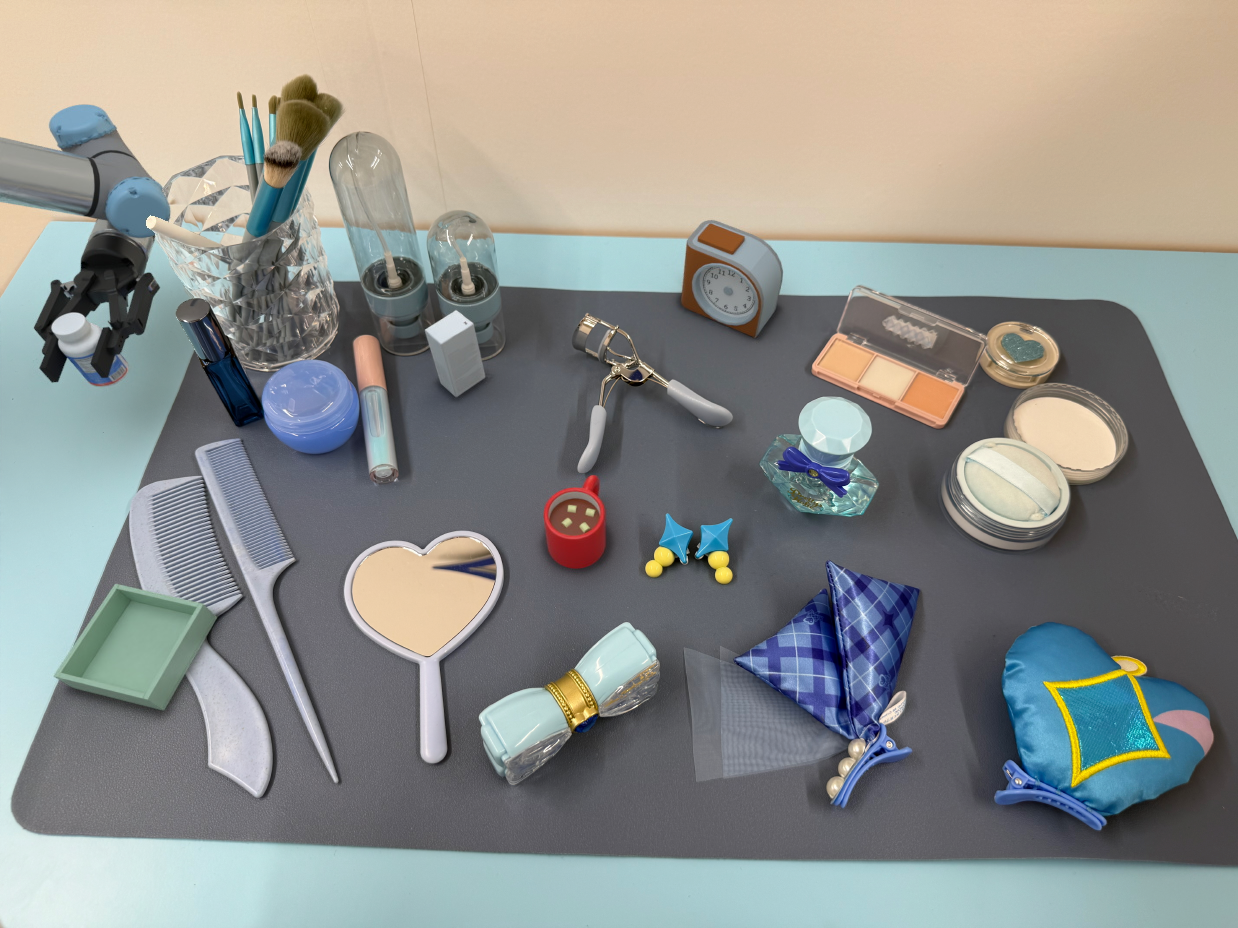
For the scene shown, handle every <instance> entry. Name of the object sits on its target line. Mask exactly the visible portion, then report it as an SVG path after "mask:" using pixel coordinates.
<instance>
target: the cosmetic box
mask: <svg viewBox="0 0 1238 928" xmlns="http://www.w3.org/2000/svg"><path fill="white" fill-rule="evenodd" d="M475 328H476V327H475V324H474V322H472V321H471V320H470V319H468V318H467V317H466V316H465V315H463V314H462V313H461V312H459V311H458V310H457V309H455V310H453V311H452V312H450V313H449V314H448V315H446V316H444V317H443V318H442V319H440V320H438V321H436V322H435V323H433V324H432V325H430V326H428V327H427V328H426V329H424V332H425V333H424V334H425V337H426V340H427V342H428V347H429V350H430V351H431V356H432V359H433V363H434V366H435V369H436V372H437V373H436V374H437V376H438V379H439V382H440V385H442V386H443V387H444V388H445V389H446V390H447V391H448V392H449V393H451V395H453V396H454V397H455V398H458V397H459V396H461V395H462V394H464V393H465V392H467V391H468V390H469V389H471V388H472V387H474V386H475V385H477V384H478V383H480V382H481V381H483V380H484V379H485V378H486V373H485V368H484V364H483V359H482V355H481V350H480V346H479V343H478V338H477V333H476V329H475Z"/></svg>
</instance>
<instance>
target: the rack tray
mask: <svg viewBox="0 0 1238 928" xmlns="http://www.w3.org/2000/svg"><path fill="white" fill-rule="evenodd" d="M217 619H218V616H216V615H215V614H214V613H213V611H212V610H210V609H209V607H208V606H207V605H205V604H204V603H201V602H197V601H193V600H189V599H184V598H180V597H177V596H176V597H175V596H171V595H166V594H162V593H158V592H154V591H151V590H145V589H141V588H138V587H131V586H127V585H123V584H118V583H114V585H113V586H112V588H111V589H110V591H109V592H108V594H107V595H106V597H105V598H104V599H103V601H102V602H101V604H100V605H99V607H98V609H97V610H96V611H95V613H94V615H93V616H92V617H91V619H90V621H89V622H88V623H87V625H86V627H85V628H84V630H83V631H82V632H81V634H80V636H79V637H78V639H77V640H76V641H75V643H74V644H73V646H72V647H71V649H70V650H69V652H68V653H67V655H66V657H65V658H64V659H63V660H62V662H61V664H59V667H58V668H57V670H56V671H55V673H54V674H53V677H54V678H55V679H57V680H59V681H60V682H62V683H64V684H66V685H67V686H69V687H71V688H72V689H75V690H80V691H83V692H88V693H92V694H95V695H100V696H104V697H108V698H112V699H116V700H120V701H124V702H128V703H131V704H134V705H135V704H136V705H140V706H142V707H143V706H144V707H148V708H151V709H155V710H160V711H162V712H163V711H165V710H166V709H167V706H168V704H169V703H170V701H171V700H172V697H173V696H174V694H175V692H176V691H177V689H178V687H179V686H180V684H181V683H182V680H183V678H184V676H185V674H186V673H187V671H188V670H189V668H190V666H191V664H192V662H193V661H194V659H195V657H196V656H197V654H198V652H199V650H200V648H201V646H202V645H203V643H204V642H205V639H206V638H207V636H208V634H209V632H210V631H211V629H212V627H213V626H214V624H215V622H216V620H217Z"/></svg>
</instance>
